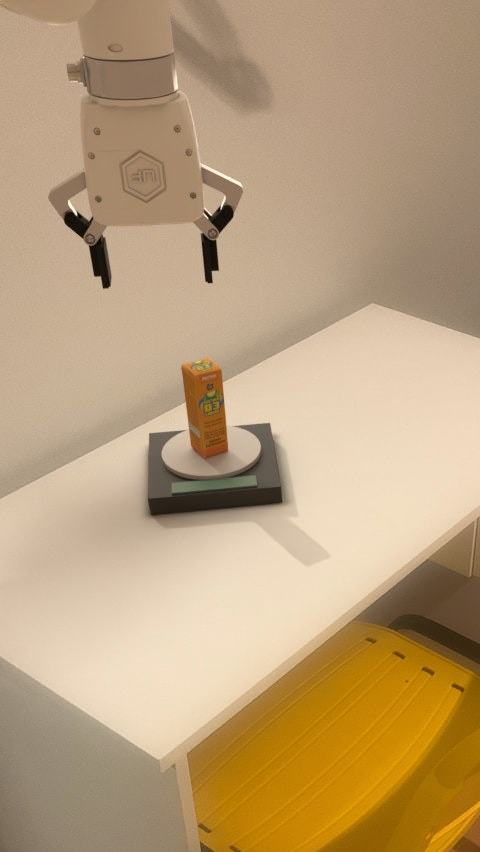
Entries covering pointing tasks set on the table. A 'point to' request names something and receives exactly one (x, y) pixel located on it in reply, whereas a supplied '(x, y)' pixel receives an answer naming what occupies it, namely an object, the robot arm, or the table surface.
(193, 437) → the supplement box
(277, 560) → the table surface
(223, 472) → the scale
